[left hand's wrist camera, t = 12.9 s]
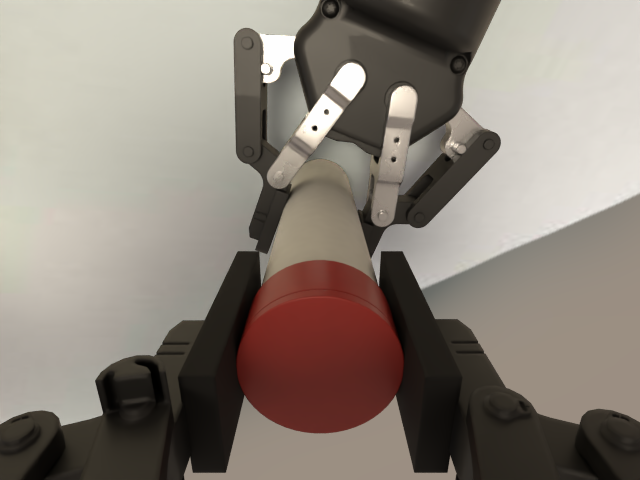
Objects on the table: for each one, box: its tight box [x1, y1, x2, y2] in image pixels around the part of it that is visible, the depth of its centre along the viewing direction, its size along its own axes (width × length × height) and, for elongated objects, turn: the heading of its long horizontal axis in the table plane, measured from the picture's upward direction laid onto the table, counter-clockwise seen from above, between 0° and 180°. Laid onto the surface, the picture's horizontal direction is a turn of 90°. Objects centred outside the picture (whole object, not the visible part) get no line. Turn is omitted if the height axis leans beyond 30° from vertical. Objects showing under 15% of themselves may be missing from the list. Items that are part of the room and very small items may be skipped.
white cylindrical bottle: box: [262, 159, 378, 285], centre depth 20 cm, size 4×4×18 cm
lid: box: [236, 260, 404, 433], centre depth 11 cm, size 4×4×2 cm
